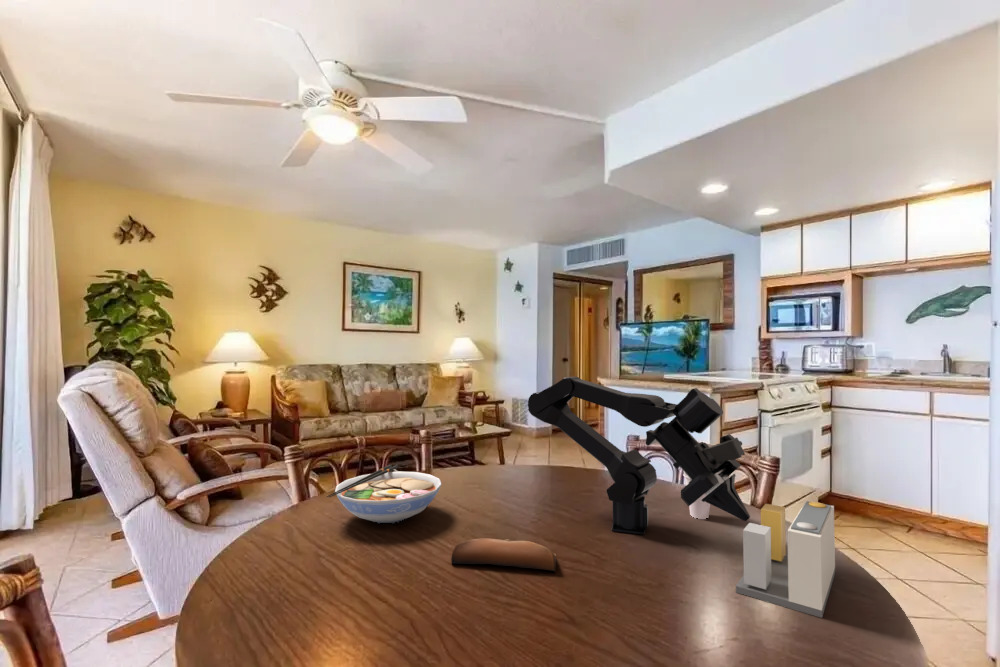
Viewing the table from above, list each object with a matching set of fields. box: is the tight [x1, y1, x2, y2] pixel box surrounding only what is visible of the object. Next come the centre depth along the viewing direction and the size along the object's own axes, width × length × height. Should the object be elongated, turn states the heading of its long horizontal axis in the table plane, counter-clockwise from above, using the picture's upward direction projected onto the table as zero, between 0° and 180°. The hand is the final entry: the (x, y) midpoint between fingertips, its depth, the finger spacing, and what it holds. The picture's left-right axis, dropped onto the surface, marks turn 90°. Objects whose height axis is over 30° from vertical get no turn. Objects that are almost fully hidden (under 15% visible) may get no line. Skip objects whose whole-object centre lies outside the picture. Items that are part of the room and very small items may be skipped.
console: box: [735, 500, 836, 619], centre depth 78 cm, size 11×17×12 cm, turn 141°
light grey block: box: [742, 522, 772, 589], centre depth 75 cm, size 3×4×8 cm
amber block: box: [760, 503, 787, 562], centre depth 84 cm, size 3×4×8 cm
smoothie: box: [682, 471, 711, 520], centre depth 108 cm, size 6×6×14 cm
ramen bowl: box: [326, 464, 443, 524], centre depth 107 cm, size 25×23×8 cm
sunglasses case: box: [450, 537, 557, 573], centre depth 86 cm, size 18×7×7 cm, turn 79°
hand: (748, 519), depth 87 cm, fingers closed
